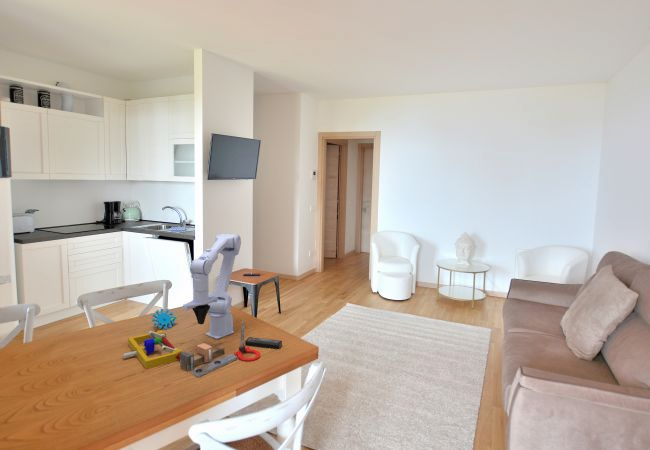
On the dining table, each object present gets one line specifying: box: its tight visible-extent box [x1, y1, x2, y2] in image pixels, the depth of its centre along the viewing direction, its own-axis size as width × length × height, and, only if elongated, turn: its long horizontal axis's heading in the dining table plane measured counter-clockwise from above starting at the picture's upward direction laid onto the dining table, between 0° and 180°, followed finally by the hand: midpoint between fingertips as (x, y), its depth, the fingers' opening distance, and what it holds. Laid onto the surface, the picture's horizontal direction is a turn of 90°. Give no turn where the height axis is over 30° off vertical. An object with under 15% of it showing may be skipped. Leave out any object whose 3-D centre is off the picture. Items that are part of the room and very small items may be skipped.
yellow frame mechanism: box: [122, 329, 184, 370], centre depth 153 cm, size 18×6×30 cm
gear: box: [151, 308, 178, 330], centre depth 178 cm, size 11×6×10 cm
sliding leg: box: [196, 342, 213, 364], centre depth 147 cm, size 3×6×5 cm, turn 54°
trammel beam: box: [179, 345, 225, 372], centre depth 146 cm, size 17×6×5 cm, turn 144°
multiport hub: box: [244, 336, 283, 350], centre depth 161 cm, size 4×14×2 cm, turn 78°
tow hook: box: [233, 321, 261, 363], centre depth 150 cm, size 8×13×9 cm
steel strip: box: [191, 353, 238, 378], centre depth 143 cm, size 17×4×1 cm, turn 144°
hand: (200, 323), depth 155 cm, fingers closed
